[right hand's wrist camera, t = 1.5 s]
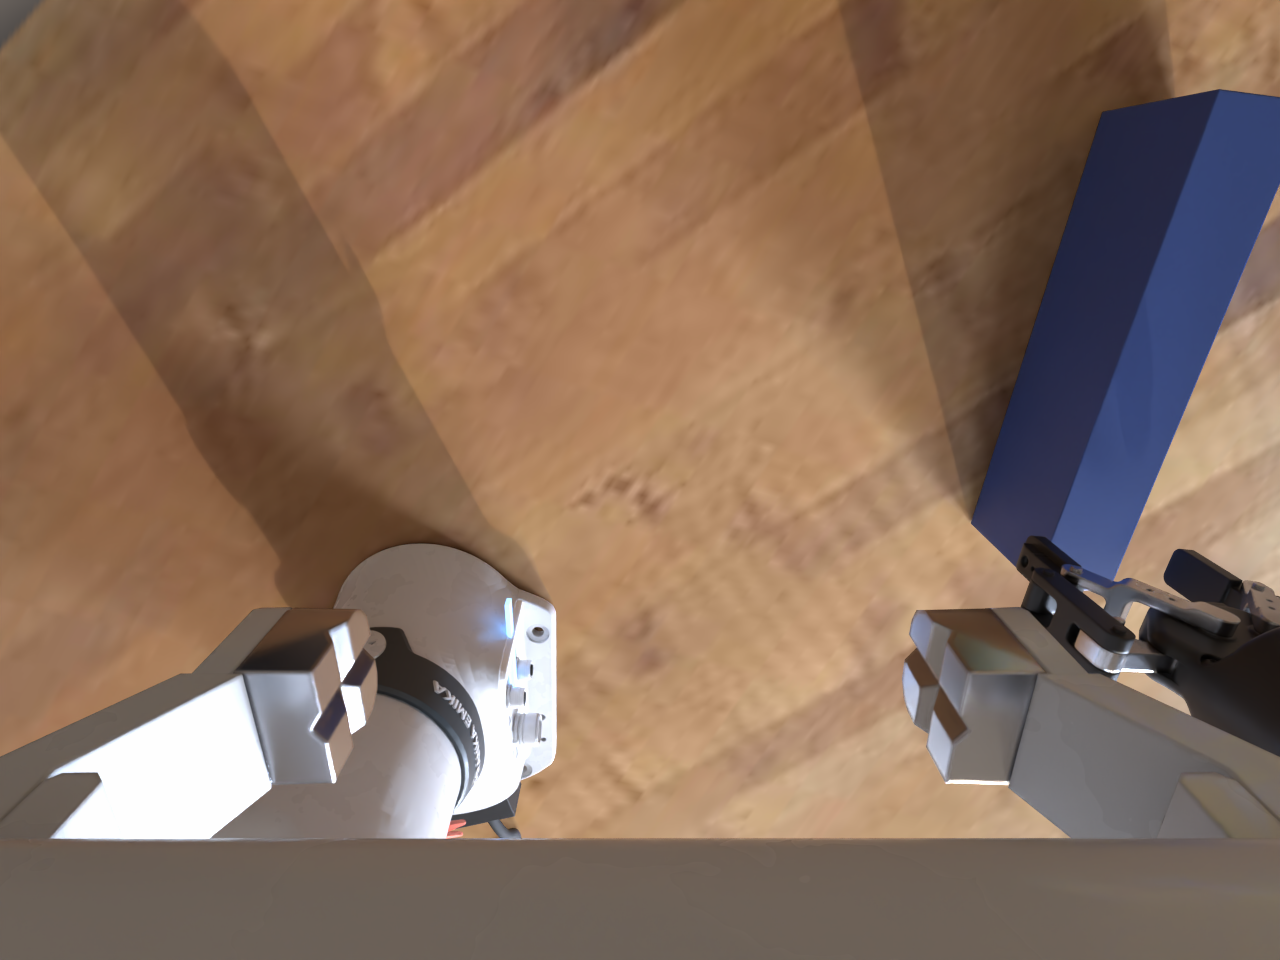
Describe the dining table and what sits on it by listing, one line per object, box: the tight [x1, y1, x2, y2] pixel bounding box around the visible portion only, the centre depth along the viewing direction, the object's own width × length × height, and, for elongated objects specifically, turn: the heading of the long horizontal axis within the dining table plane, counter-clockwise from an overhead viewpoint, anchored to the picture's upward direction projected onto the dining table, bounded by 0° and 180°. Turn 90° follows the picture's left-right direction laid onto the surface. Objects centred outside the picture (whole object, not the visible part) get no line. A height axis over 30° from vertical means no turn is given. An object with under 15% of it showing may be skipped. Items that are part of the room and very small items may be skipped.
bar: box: [971, 89, 1280, 590], centre depth 40 cm, size 26×5×9 cm, turn 174°
